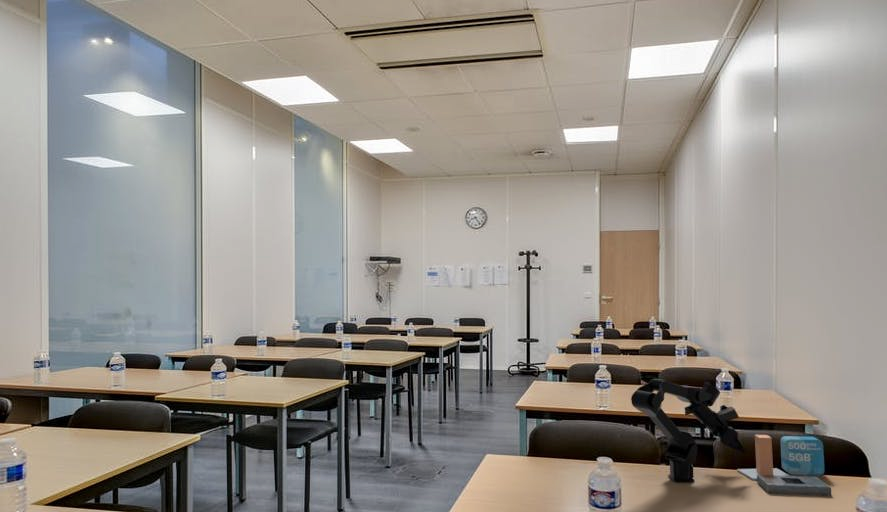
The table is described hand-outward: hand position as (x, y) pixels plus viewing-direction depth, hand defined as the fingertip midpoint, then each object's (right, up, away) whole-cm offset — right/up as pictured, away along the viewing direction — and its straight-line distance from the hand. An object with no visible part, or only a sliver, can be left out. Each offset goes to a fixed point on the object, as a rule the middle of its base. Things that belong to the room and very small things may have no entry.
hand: (740, 448), depth 202 cm
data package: (+21, -9, 0) cm, 23 cm away
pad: (+7, -9, -2) cm, 11 cm away
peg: (+7, -8, -2) cm, 11 cm away
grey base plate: (+9, -8, -16) cm, 20 cm away
